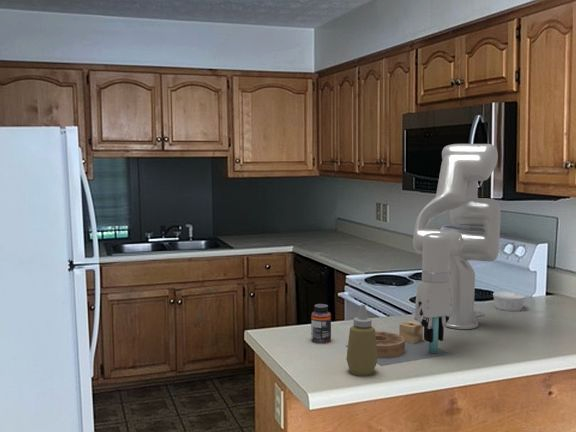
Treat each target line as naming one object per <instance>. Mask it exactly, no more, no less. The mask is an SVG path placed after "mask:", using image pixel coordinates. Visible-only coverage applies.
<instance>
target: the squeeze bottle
mask: <svg viewBox="0 0 576 432" xmlns="http://www.w3.org/2000/svg"><path fill="white" fill-rule="evenodd" d="M367 313H368V312H367V308H366V304H360V305H359V310H358V315H357V316H356V317H354V318H353V325H352V326H350V328H349V334H348V341H347V345H348V347H347V349H346V350H347V351H346V357H345V360H346V364H347V366H348V369H349V371H350V373H351V374H353V375H355V376H371V375H373V374H374V371H375V369H376V365H377V348H376V336H375V331H376V328H375V327H374V326H373V325H372V320H373V319H372V318H370V317H368V314H367Z"/></svg>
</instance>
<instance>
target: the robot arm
mask: <svg viewBox="0 0 576 432" xmlns="http://www.w3.org/2000/svg"><path fill="white" fill-rule="evenodd" d="M498 153H499V152H498V150H497V147H496V146H495V145H494V144H491V143H453V144H448V145H445V146H444V147H443V149H442V151H441V159H442V161H441V165H440V171H439V176H438V177H439V178H438V181H437V182H438V183H437V188H436V194H435V197H434V198H433V199H431V200H430V201H429V202H428V203H427V204H426V205H425V206H424V207H423V208H422V210H421V211H420V212H419V213H418V216H417V217H416V221H415V226H414V231H413V234H412V235H413V236H412V247H413V249H414V251H415V252H416V253H418V254H421V256H422V259H421V280H420V281H419V282H418V285H417V289H416V290H417V291H416V294H415V295H416V296H415V305H414V317H413V319H414V321H415V322H416V321H417V323H418V322H419V324H422V326H423V341H424V342H427V343H429V342H430V343H432V342H433V329H432V328H431V327H432V318H436V317H439V332H438V341H440V342H443V341H444V335H445V334H444V333H445V332H444V331H445V330H444V329H445V328H450V329H454V330H455V329H456V330H471V329H472V330H473V329H475V328H478V327H479V322H478V320H477V319H478V318H483V317H485V315H486V314H485V311H483V310H481V311H477V310H475V288H476V287H475V286H476V272H475V270H474V268H473V266H472V265H471V263H470V262H469V261H476V262H477V261H478V262H493V261H496V260H497V258H498V255H499V250H500V236H501V235H500V232H501V216H502V215H501V207H500V204H499V202H498V201H497V200H495V199H492V198H483V197H480V198H479V197H478V195H479V194H478V192H479V183H478V182H484V181H487V180H488V179H489V178H490V176H491V175H492V174H493V171H494V170H495V169H496V167H497V164H498V160H499V159H498V158H499V154H498ZM448 212H449V219H450V222H451V223H452V224H453V225H454V226H457V227H468V228H481V229H484V231H477V230H475V231H473V230H459V229H458V230H456V229H455V230H452V229H451V230H450V229H448V230H447V229H437V228H436V229H434V228H427V227H428V225H429V223H430V222H431V221H432V220H433V219H434V218H436V217H437V216H440V215H442V214H445V213H448Z"/></svg>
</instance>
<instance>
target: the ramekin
mask: <svg viewBox="0 0 576 432" xmlns="http://www.w3.org/2000/svg"><path fill="white" fill-rule="evenodd" d="M492 297H493V302H494V303H493V304H494V307H495V308H496V309H498V310H500V311H505V312H519V311H521V310H522V309H523V306H524V303H525V299H526V295H525V294H522V293H519V292H515V291H501V290H500V291H495V292H493V293H492Z"/></svg>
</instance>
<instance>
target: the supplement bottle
mask: <svg viewBox="0 0 576 432" xmlns="http://www.w3.org/2000/svg"><path fill="white" fill-rule="evenodd" d="M328 310H329V305H328V304H324V303H317V304H314V310H313V311H312V312H311V319H310V320H311V325H310V326H311V328H310V329H311V332H310V334H311V342H313V343H314V344H320V345H321V344H323V345H324V344H329V343H331V341H332V314H331V312H329V311H328Z"/></svg>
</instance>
